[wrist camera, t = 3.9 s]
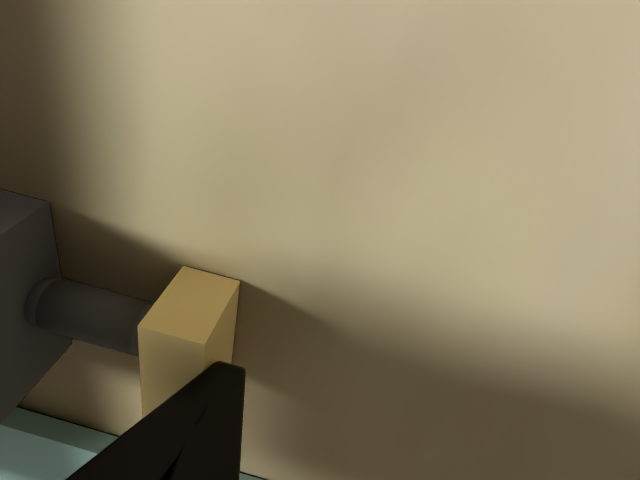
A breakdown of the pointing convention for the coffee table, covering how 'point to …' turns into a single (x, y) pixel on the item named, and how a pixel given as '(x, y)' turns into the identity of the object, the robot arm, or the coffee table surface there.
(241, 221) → the coffee table surface
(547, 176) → the coffee table surface
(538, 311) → the coffee table surface
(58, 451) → the mat
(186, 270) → the plug
